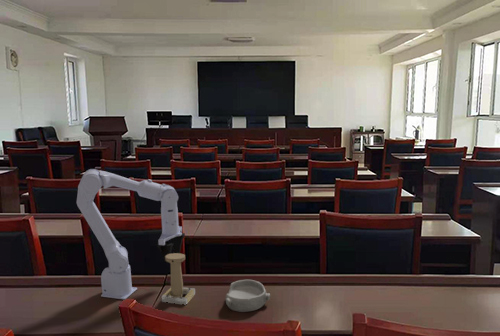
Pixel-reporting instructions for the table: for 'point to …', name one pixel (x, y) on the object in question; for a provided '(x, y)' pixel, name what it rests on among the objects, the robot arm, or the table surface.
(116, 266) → the robot arm
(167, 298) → the square frame
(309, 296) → the table surface
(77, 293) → the table surface
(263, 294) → the dish
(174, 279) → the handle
